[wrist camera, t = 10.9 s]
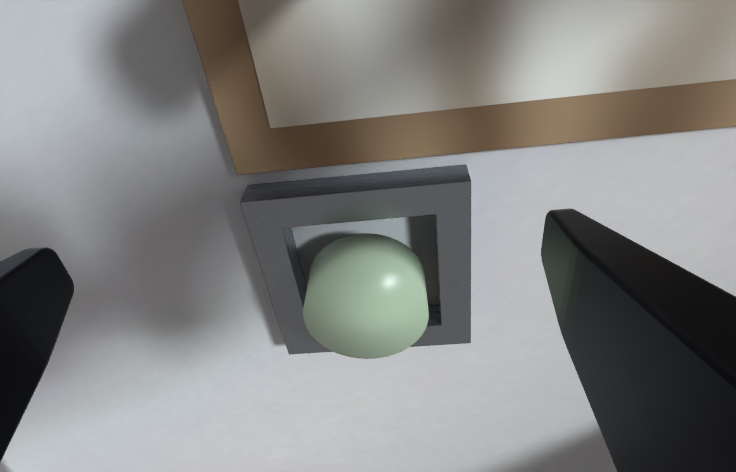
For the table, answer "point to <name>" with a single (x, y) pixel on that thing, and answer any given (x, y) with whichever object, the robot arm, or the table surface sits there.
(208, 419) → the table surface
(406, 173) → the button bezel
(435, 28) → the clipboard
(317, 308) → the button
